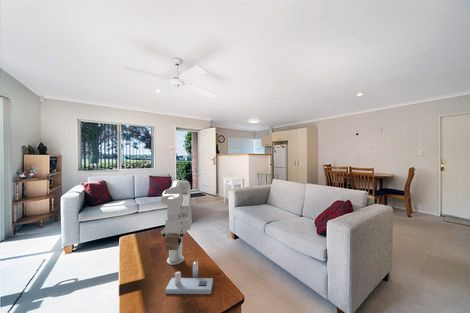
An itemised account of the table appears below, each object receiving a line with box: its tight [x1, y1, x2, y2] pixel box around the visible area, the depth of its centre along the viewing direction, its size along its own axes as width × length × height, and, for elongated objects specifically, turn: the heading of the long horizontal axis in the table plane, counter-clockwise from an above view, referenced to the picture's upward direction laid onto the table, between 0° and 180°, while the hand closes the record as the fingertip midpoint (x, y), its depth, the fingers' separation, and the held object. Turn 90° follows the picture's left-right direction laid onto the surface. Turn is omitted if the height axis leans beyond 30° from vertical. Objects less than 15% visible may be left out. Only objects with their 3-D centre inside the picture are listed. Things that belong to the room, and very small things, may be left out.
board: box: [164, 271, 214, 295], centre depth 109 cm, size 10×26×8 cm, turn 90°
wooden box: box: [165, 235, 180, 251], centre depth 116 cm, size 7×7×9 cm
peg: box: [192, 260, 199, 278], centre depth 118 cm, size 3×3×10 cm
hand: (173, 243), depth 116 cm, fingers closed on wooden box, 7 cm apart
